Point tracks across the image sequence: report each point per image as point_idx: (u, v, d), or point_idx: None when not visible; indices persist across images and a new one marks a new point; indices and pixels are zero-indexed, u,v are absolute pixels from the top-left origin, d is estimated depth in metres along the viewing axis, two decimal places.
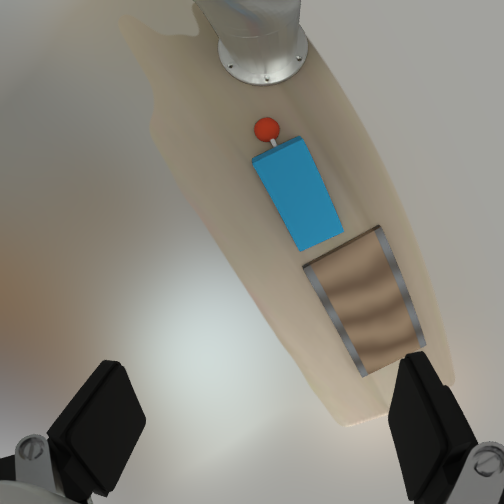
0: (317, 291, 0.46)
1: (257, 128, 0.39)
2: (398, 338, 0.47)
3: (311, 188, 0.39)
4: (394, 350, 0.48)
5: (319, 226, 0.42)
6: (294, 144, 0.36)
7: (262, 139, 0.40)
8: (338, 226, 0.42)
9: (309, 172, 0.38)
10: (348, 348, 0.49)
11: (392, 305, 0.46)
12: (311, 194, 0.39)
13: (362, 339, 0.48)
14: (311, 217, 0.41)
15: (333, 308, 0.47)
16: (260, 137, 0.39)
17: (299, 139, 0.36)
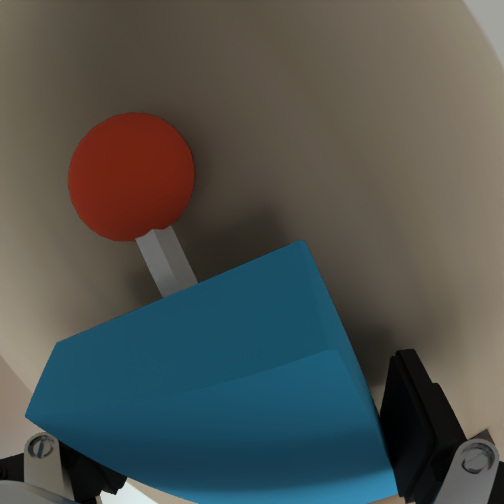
0: None
1: (69, 181, 0.07)
2: None
3: (331, 481, 0.07)
4: None
5: (338, 502, 0.10)
6: (244, 384, 0.04)
7: None
8: (393, 490, 0.10)
9: (337, 460, 0.06)
10: None
11: None
12: (327, 487, 0.07)
13: None
14: None
15: None
16: (90, 226, 0.07)
17: (298, 325, 0.04)
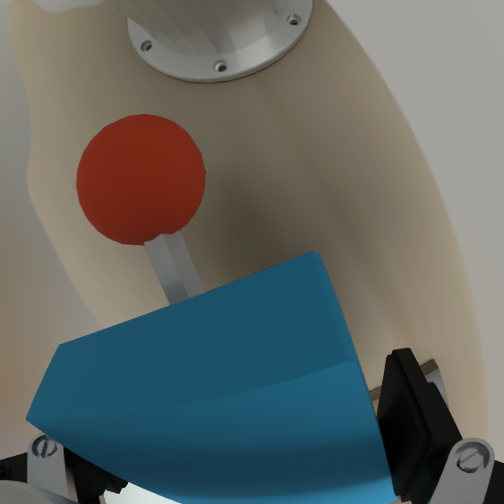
0: None
1: (78, 181, 0.06)
2: None
3: (331, 488, 0.07)
4: None
5: None
6: (260, 395, 0.04)
7: (110, 237, 0.07)
8: (388, 498, 0.10)
9: (340, 468, 0.06)
10: None
11: None
12: (326, 494, 0.07)
13: None
14: None
15: None
16: None
17: (315, 336, 0.04)
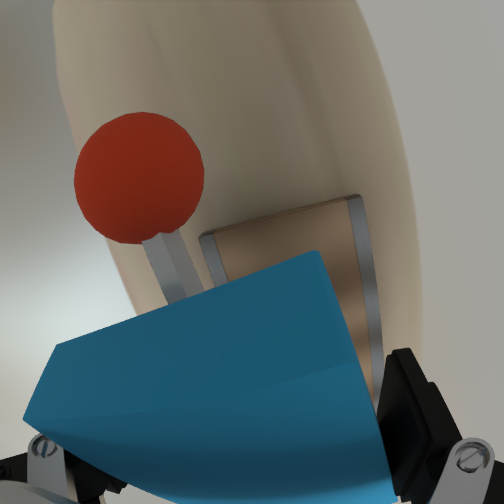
0: (217, 285, 0.26)
1: (75, 180, 0.06)
2: None
3: (331, 490, 0.07)
4: None
5: None
6: (258, 396, 0.04)
7: (107, 236, 0.07)
8: (389, 499, 0.10)
9: (340, 470, 0.05)
10: None
11: None
12: (326, 496, 0.07)
13: None
14: None
15: None
16: (95, 227, 0.07)
17: (315, 336, 0.04)
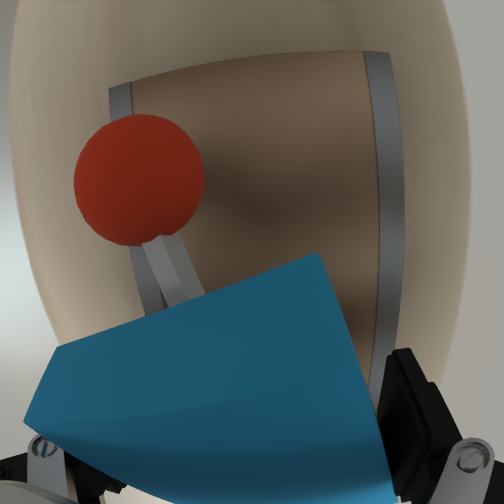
0: None
1: (75, 182, 0.06)
2: None
3: (332, 491, 0.07)
4: None
5: None
6: (259, 401, 0.04)
7: None
8: (389, 500, 0.10)
9: (340, 472, 0.05)
10: None
11: None
12: (326, 497, 0.07)
13: None
14: None
15: None
16: (95, 229, 0.07)
17: (316, 341, 0.04)
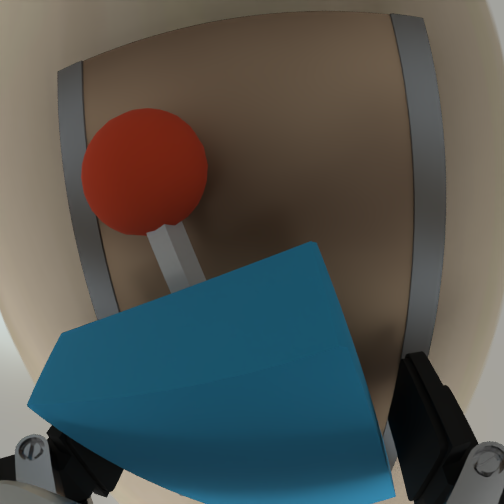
0: (69, 176, 0.10)
1: (82, 173, 0.07)
2: None
3: (328, 481, 0.07)
4: None
5: None
6: (255, 379, 0.04)
7: (113, 228, 0.07)
8: (386, 494, 0.10)
9: (336, 459, 0.06)
10: None
11: None
12: (323, 487, 0.07)
13: None
14: None
15: (108, 276, 0.11)
16: None
17: (309, 322, 0.04)
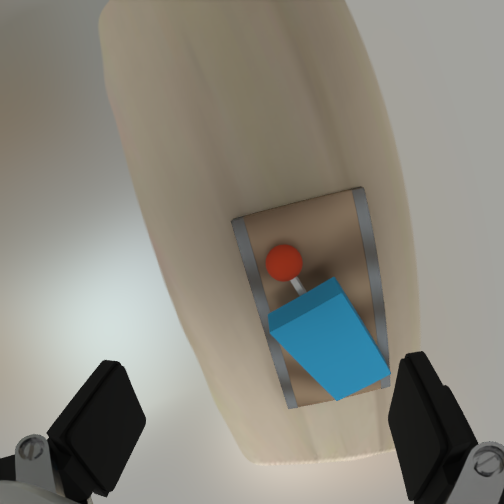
0: (245, 262, 0.31)
1: (270, 267, 0.28)
2: None
3: (352, 344, 0.27)
4: None
5: (361, 375, 0.30)
6: (329, 301, 0.24)
7: (279, 280, 0.28)
8: (385, 370, 0.30)
9: (350, 329, 0.26)
10: (276, 362, 0.33)
11: None
12: (352, 350, 0.27)
13: None
14: (352, 371, 0.29)
15: (264, 295, 0.31)
16: (276, 278, 0.28)
17: (335, 291, 0.24)
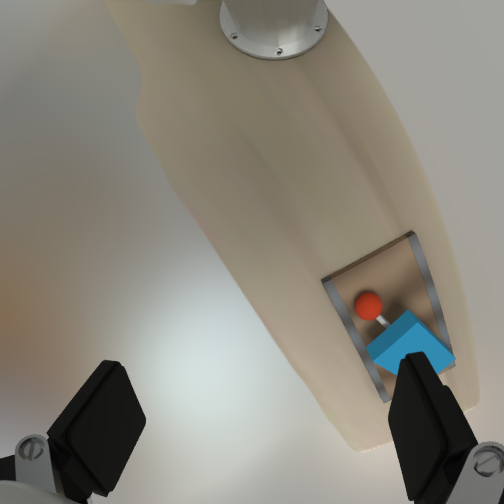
0: (338, 310, 0.37)
1: (361, 314, 0.34)
2: None
3: (427, 349, 0.33)
4: None
5: (435, 366, 0.36)
6: (410, 330, 0.31)
7: (368, 320, 0.35)
8: (451, 357, 0.35)
9: (425, 341, 0.32)
10: (370, 373, 0.40)
11: None
12: (427, 353, 0.33)
13: None
14: None
15: (356, 329, 0.38)
16: (366, 320, 0.35)
17: (412, 321, 0.31)
